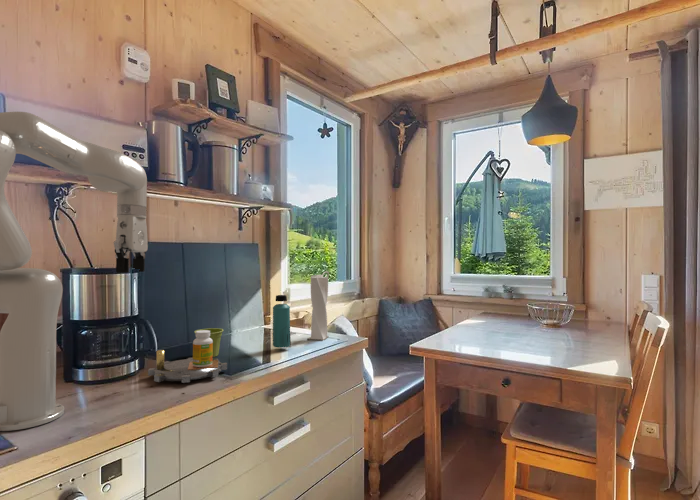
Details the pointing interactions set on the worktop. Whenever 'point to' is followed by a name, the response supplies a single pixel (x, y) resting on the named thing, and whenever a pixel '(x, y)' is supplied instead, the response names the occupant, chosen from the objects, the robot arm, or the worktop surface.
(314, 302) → the skyscraper
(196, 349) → the supplement bottle
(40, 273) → the robot arm
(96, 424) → the worktop surface
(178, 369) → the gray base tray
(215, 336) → the plant pot
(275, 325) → the beverage bottle
